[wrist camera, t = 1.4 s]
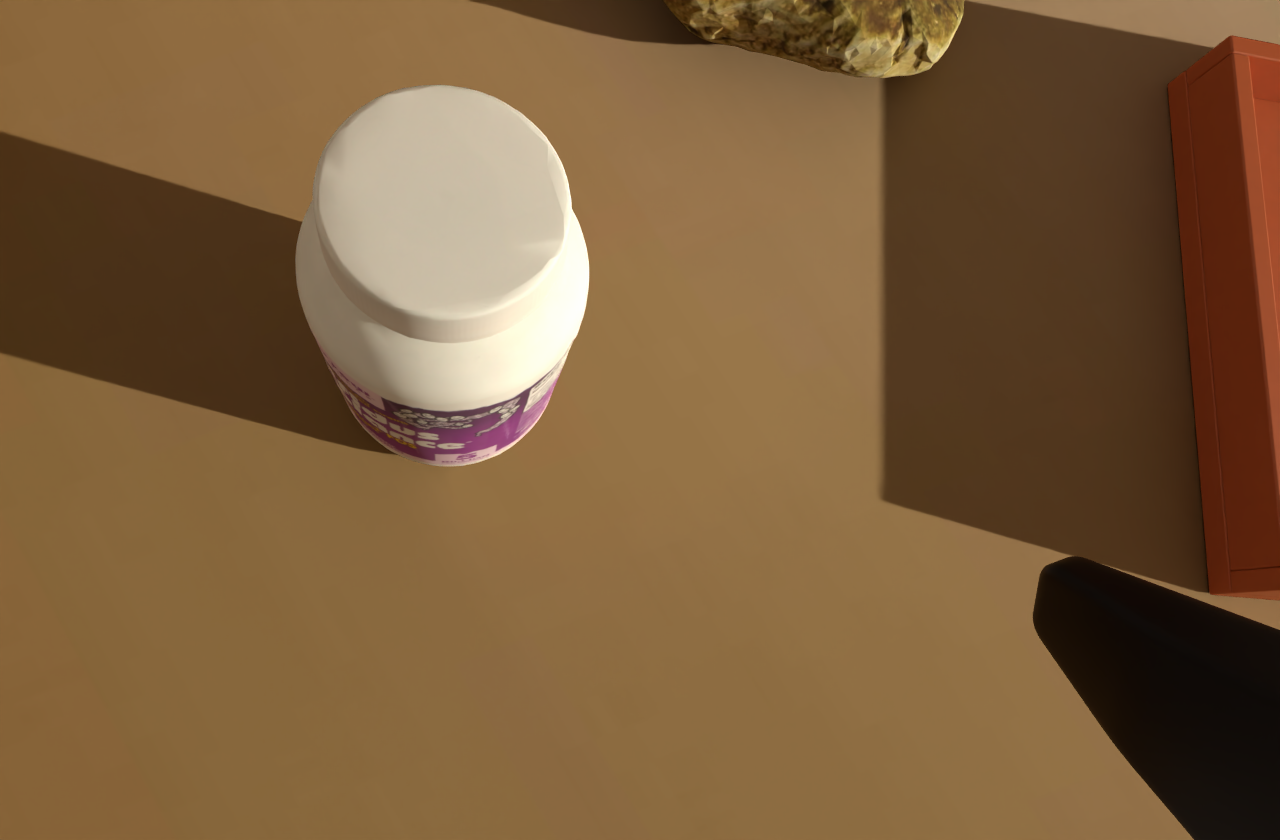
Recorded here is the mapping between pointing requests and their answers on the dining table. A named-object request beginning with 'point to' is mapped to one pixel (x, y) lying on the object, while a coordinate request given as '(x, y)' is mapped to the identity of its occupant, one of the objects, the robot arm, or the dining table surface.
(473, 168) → the pill bottle
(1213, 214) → the tray
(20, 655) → the dining table surface
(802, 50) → the sculpture
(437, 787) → the dining table surface
